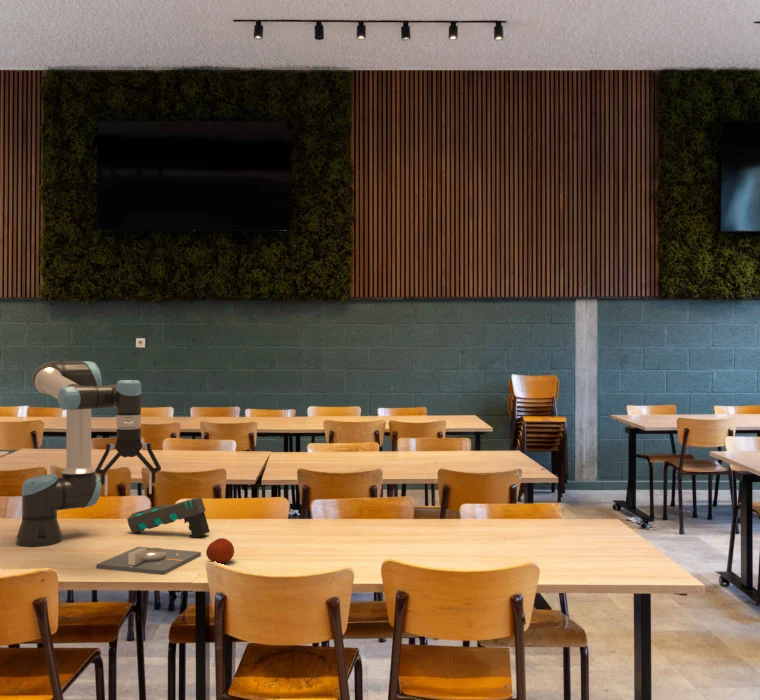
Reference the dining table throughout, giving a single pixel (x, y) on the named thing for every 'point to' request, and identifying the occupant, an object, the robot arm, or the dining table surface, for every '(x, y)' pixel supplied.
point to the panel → (156, 567)
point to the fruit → (220, 550)
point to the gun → (172, 517)
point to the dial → (146, 555)
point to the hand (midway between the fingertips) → (128, 494)
